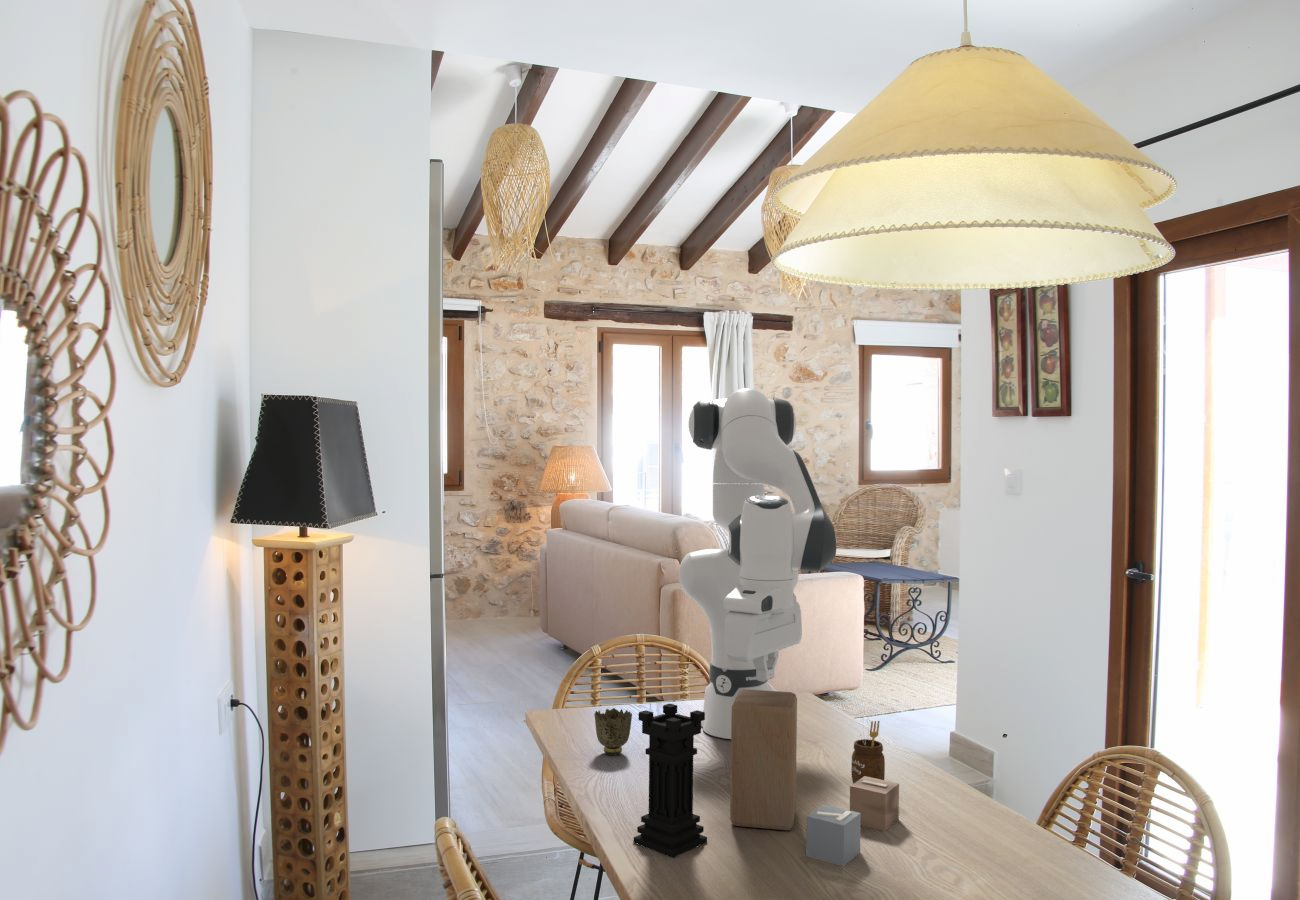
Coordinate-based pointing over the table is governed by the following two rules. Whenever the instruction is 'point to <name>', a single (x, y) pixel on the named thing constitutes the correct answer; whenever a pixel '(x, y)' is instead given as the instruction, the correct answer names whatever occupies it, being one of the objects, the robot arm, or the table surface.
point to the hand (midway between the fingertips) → (765, 679)
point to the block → (763, 759)
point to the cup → (613, 729)
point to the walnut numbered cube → (875, 802)
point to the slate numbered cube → (833, 834)
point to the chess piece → (671, 782)
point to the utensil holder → (868, 756)
